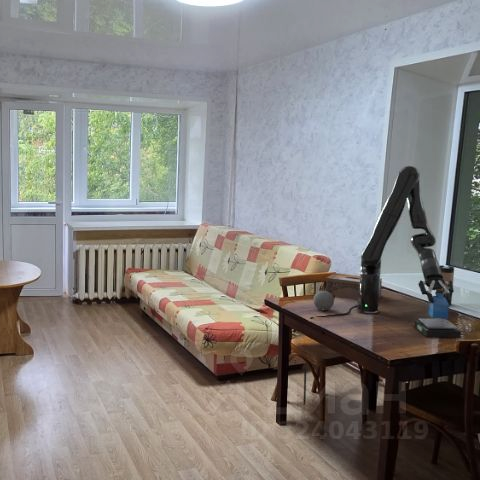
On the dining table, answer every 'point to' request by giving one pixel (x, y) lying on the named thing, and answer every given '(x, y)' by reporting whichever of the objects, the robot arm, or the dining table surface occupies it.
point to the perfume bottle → (439, 305)
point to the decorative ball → (323, 300)
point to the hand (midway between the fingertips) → (440, 302)
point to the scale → (437, 331)
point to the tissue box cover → (345, 285)
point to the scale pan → (437, 324)
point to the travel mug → (447, 276)
